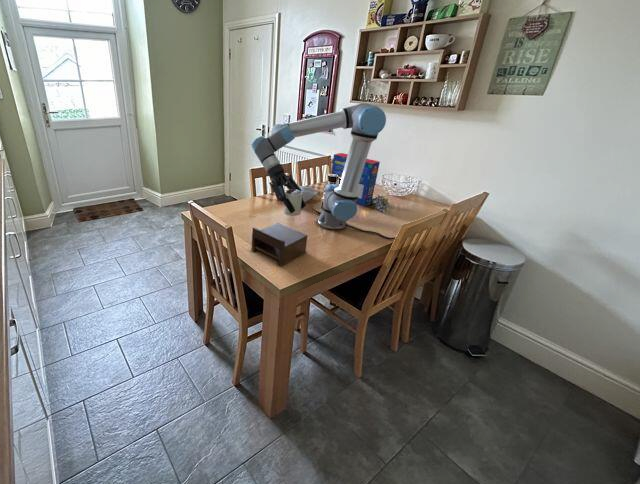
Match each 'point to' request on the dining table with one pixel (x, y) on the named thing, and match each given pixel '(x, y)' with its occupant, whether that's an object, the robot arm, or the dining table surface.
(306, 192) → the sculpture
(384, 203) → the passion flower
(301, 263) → the dining table surface
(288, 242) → the shelf
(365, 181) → the pasta box
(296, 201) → the cup
